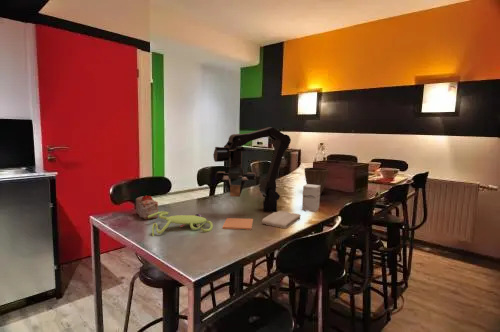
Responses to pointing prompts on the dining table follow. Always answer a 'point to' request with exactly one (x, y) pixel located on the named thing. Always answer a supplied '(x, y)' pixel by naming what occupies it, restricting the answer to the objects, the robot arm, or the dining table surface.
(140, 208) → the food item
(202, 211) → the dining table surface
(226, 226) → the terracotta tile
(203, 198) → the dining table surface
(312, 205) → the supplement box
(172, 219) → the figurine
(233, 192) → the walnut cube
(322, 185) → the plant pot
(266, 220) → the washcloth
